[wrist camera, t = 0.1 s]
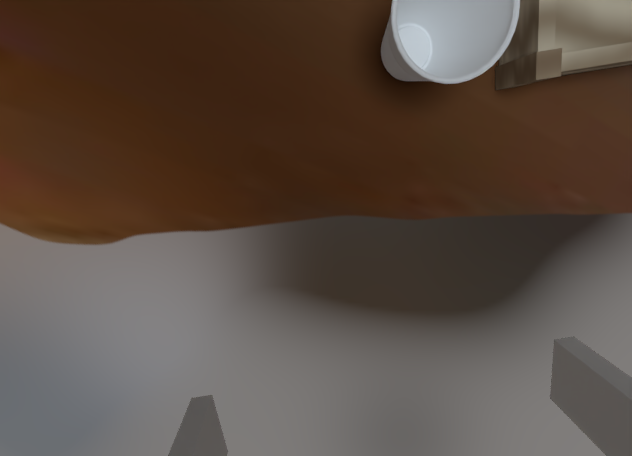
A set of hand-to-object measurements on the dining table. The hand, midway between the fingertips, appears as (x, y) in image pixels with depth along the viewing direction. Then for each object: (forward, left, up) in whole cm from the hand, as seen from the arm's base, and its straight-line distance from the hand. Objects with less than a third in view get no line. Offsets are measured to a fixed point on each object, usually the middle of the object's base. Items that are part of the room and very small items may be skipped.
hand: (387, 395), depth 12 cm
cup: (-17, +12, -28) cm, 35 cm away
